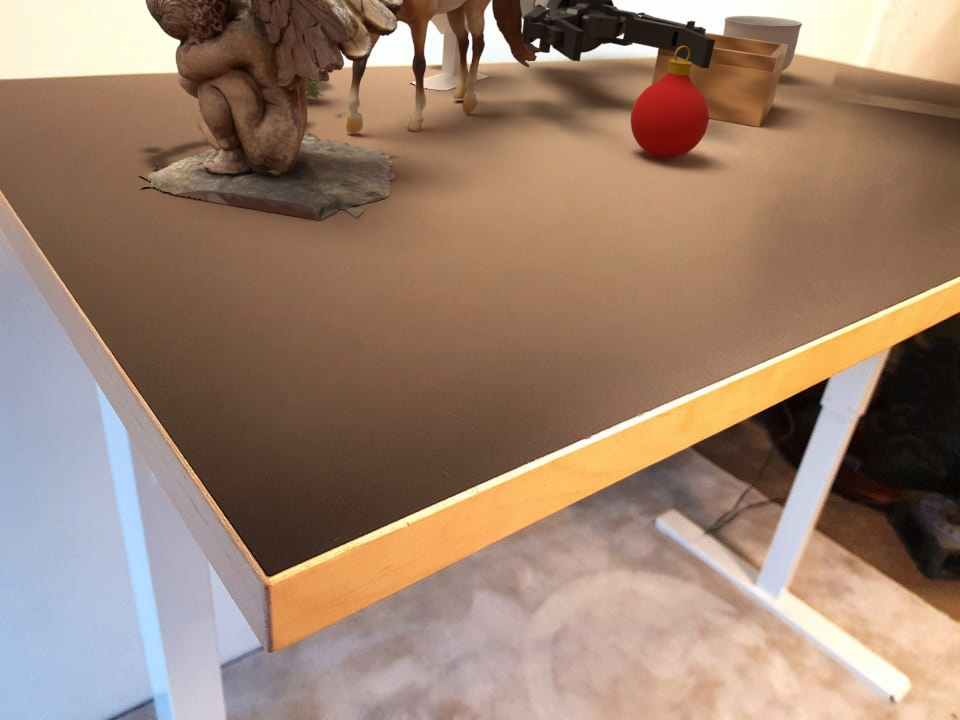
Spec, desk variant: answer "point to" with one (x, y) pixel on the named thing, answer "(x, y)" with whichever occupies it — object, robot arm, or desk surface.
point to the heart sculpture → (447, 57)
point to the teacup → (765, 31)
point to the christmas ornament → (670, 113)
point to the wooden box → (735, 77)
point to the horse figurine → (457, 3)
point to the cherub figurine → (271, 102)
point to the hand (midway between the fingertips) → (645, 50)
